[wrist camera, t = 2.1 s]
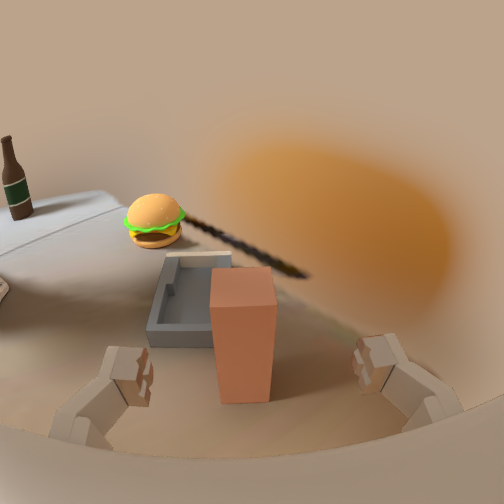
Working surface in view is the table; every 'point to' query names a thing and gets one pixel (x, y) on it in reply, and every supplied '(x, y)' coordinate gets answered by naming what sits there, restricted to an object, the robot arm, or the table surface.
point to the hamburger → (154, 220)
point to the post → (243, 332)
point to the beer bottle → (15, 183)
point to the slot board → (184, 300)
